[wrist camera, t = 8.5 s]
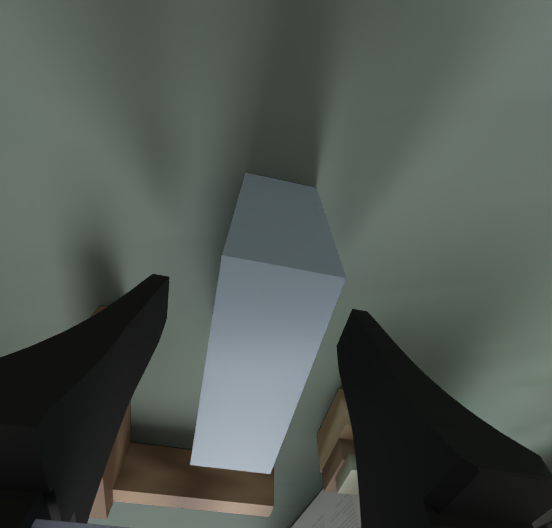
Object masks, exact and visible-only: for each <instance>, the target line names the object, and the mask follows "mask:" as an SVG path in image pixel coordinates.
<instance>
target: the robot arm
mask: <svg viewBox="0 0 552 528" xmlns="http://www.w3.org/2000/svg"><path fill="white" fill-rule="evenodd" d="M168 291H169V277H167V276H162V275H156V274H152V275H151V276H149V277H148V278H146V279H145V280H144V281H142V282H141V283H140V284H139V285H137V286H136V287H135V288H133V289H132V290H131V291H129V292H128V293H127V294H125V295H124V296H122V297H121V298H119V299H118V300H117V301H115V302H114V303H112V304H111V305H109V306H108V307H106V308H105V309H103V310H101V311H100V312H98V313H97V314H95V315H93V316H92V317H90V318H88V319H87V320H85V321H83V322H81V323H80V324H78V325H76V326H74V327H72V328H70V329H68V330H66V331H64V332H62V333H60V334H58V335H55V336H53V337H51V338H49V339H46V340H44V341H42V342H39V343H37V344H35V345H33V346H30V347H28V348H25V349H22V350H20V351H17V352H14V353H12V354H9V355H6V356H3V357H0V528H128V527H117V526H106V525H96V524H87V522H88V519H89V516H90V513H91V510H92V506H93V503H94V500H95V497H96V494H97V491H98V488H99V485H100V482H101V480H102V477H103V474H104V471H105V468H106V465H107V462H108V459H109V456H110V454H111V451H112V448H113V445H114V442H115V440H116V437H117V434H118V431H119V429H120V426H121V423H122V421H123V418H124V415H125V413H126V410H127V407H128V405H129V402H130V400H131V398H132V396H133V393H134V391H135V389H136V387H137V385H138V383H139V381H140V379H141V377H142V375H143V373H144V371H145V369H146V367H147V365H148V363H149V361H150V359H151V357H152V355H153V353H154V351H155V349H156V347H157V344H158V342H159V340H160V337H161V334H162V331H163V328H164V325H165V322H166V319H167V308H168ZM337 356H338V367H339V373H340V378H341V382H342V387H343V391H344V396H345V400H346V404H347V409H348V413H349V418H350V422H351V427H352V433H353V441H354V449H355V457H356V467H357V477H358V488H359V502H360V516H361V528H534V527H533V526H532V524H531V523H532V522H534V521H535V520H536V519H538V518H539V517H540V516H542V515H543V514H544V513H546V512H547V511H548V510H550V509H551V508H552V473H551V472H550V470H549V469H548V467H547V466H546V464H545V463H544V461H543V460H542V458H541V457H540V456H539V455H537V454H536V453H534V452H532V451H531V450H529V449H527V448H526V447H524V446H522V445H521V444H519V443H517V442H516V441H514V440H512V439H511V438H509V437H507V436H506V435H504V434H503V433H501V432H499V431H498V430H496V429H495V428H493V427H492V426H490V425H489V424H487V423H486V422H485V421H483V420H482V419H480V418H479V417H477V416H476V415H475V414H473V413H472V412H470V411H469V410H468V409H466V408H465V407H464V406H462V405H461V404H460V403H459V402H457V401H456V400H455V399H453V398H452V397H451V396H450V395H448V394H447V393H446V392H445V391H444V390H442V389H441V388H440V387H439V386H438V385H437V384H436V383H434V382H433V381H432V380H431V379H430V378H429V377H428V376H427V375H426V374H424V373H423V372H422V371H421V370H420V369H419V368H418V367H417V366H416V365H415V364H414V363H413V362H412V361H411V360H410V359H409V358H408V357H407V355H406V354H405V353H404V352H403V351H402V350H401V349H400V348H399V347H398V346H397V345H396V343H395V342H394V341H393V340H392V339H391V338H390V337H389V336H388V334H387V333H386V332H385V331H384V330H383V329H382V327H381V326H380V325H379V324H378V323H377V322H376V321H375V319H374V318H373V317H372V316H371V315H370V314H369V313H368V312H367V311H362V310H356V309H352V311H351V313H350V316H349V318H348V321H347V323H346V325H345V328H344V330H343V332H342V335H341V337H340V340H339V342H338V344H337Z"/></svg>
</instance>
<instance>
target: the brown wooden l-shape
mask: <svg viewBox="0 0 552 528" xmlns="http://www.w3.org/2000/svg"><path fill="white" fill-rule="evenodd" d="M105 308H106V307H104V306H99V307H98V308H97V309H96V311H95V312H94V313H93V315H95V314H97V313H98V312H100V311H101V310H103V309H105ZM93 315H92V316H93ZM92 316H91V317H92ZM191 455H192V450H189V449H180V448H172V447H164V446H155V445H147V444H139V443H131V419H130V402H129V405H128V407H127V410H126V413H125V415H124V418H123V421H122V423H121V426H120V429H119V431H118V434H117V437H116V440H115V442H114V445H113V448H112V451H111V454H110V456H109V459H108V462H107V465H106V468H105V471H104V474H103V477H102V480H101V482H100V485H99V488H98V491H97V494H96V497H95V500H94V503H93V506H92V510H91V513H90V516H89V518H98V519H107V517H108V515H109V512H110V509H111V507H112V504H113V501H117V502H127V503H137V504H147V505H157V506H167V507H177V508H186V509H196V510H206V511H216V512H226V513H236V514H246V515H256V516H266V517H269V516H270V514H271V512H272V509H273V507H274V466H273V468H272V471H271V473H270V474H265V473H256V472H247V471H238V470H230V469H221V468H212V467H204V466H195V465H190V462H191Z"/></svg>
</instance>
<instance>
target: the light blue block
mask: <svg viewBox="0 0 552 528" xmlns="http://www.w3.org/2000/svg"><path fill="white" fill-rule="evenodd" d="M345 280H346V276H345V273H344V270H343V267H342V264H341V261H340V258H339V255H338V252H337V249H336V246H335V243H334V240H333V237H332V234H331V231H330V228H329V225H328V222H327V219H326V216H325V213H324V210H323V207H322V204H321V201H320V198H319V195H318V192H317V189H316V188H315V187H311V186H306V185H301V184H297V183H292V182H287V181H283V180H278V179H273V178H269V177H264V176H259V175H254V174H250V173H245V176H244V180H243V183H242V187H241V190H240V194H239V197H238V201H237V204H236V208H235V211H234V215H233V218H232V222H231V225H230V229H229V232H228V236H227V239H226V243H225V246H224V250H223V253H222V258H221V264H220V271H219V278H218V284H217V291H216V297H215V304H214V310H213V317H212V324H211V330H210V337H209V343H208V350H207V356H206V363H205V370H204V376H203V383H202V389H201V396H200V402H199V409H198V416H197V422H196V429H195V435H194V442H193V448H192V455H191V462H190V465H195V466H204V467H212V468H221V469H230V470H238V471H247V472H256V473H265V474H270V473H271V471H272V468H273V466H274V463H275V461H276V458H277V455H278V453H279V450H280V448H281V445H282V442H283V440H284V437H285V435H286V432H287V430H288V427H289V424H290V422H291V419H292V417H293V414H294V411H295V409H296V406H297V404H298V401H299V399H300V396H301V393H302V391H303V388H304V386H305V383H306V380H307V378H308V375H309V373H310V370H311V367H312V365H313V362H314V360H315V357H316V355H317V352H318V349H319V347H320V344H321V342H322V339H323V336H324V334H325V331H326V329H327V326H328V324H329V321H330V318H331V316H332V313H333V311H334V308H335V305H336V303H337V300H338V298H339V295H340V292H341V290H342V287H343V285H344V282H345Z"/></svg>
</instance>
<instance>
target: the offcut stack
mask: <svg viewBox="0 0 552 528" xmlns="http://www.w3.org/2000/svg"><path fill="white" fill-rule="evenodd" d="M317 444H318V453H319V462H320V471H321V473H322V476H323V485H324V492H332V493H341V494H350V495H359V488H358V477H357V467H356V457H355V449H354V441H353V433H352V427H351V422H350V418H349V413H348V409H347V404H346V400H345V396H344V391H343V389H338V391H337V393H336V396H335V398H334V400H333V402H332V404H331V406H330V408H329V411H328V413H327V415H326V417H325V419H324V421H323V423H322V425H321V428H320V430H319V432H318V434H317Z"/></svg>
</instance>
